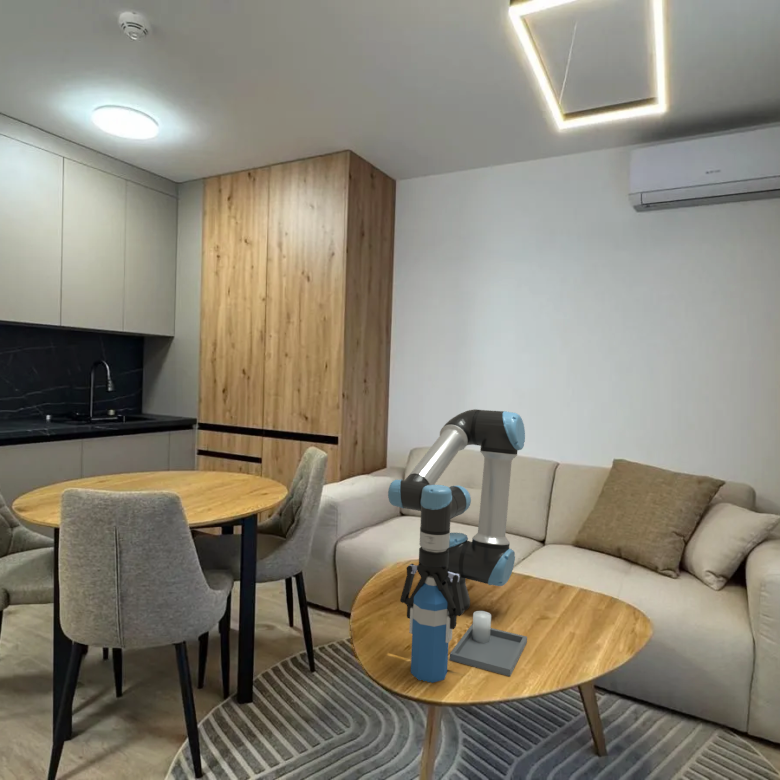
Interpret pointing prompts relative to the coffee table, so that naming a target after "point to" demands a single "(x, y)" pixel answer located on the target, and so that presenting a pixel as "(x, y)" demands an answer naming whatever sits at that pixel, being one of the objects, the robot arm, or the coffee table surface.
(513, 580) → the coffee table surface
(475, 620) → the white rounded column
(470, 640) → the tray
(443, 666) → the water bottle
